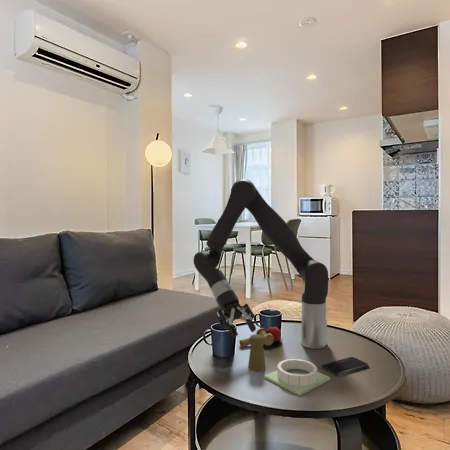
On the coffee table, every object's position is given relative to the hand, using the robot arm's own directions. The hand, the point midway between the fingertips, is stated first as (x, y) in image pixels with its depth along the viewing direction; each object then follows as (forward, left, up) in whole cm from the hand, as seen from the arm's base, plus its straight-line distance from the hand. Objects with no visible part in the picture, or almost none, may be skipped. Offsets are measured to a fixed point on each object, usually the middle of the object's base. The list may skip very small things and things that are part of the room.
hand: (245, 333), depth 124 cm
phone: (-23, +25, -11) cm, 35 cm away
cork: (0, +6, -10) cm, 12 cm away
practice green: (-4, +20, -10) cm, 23 cm away
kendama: (-16, -9, -10) cm, 21 cm away
